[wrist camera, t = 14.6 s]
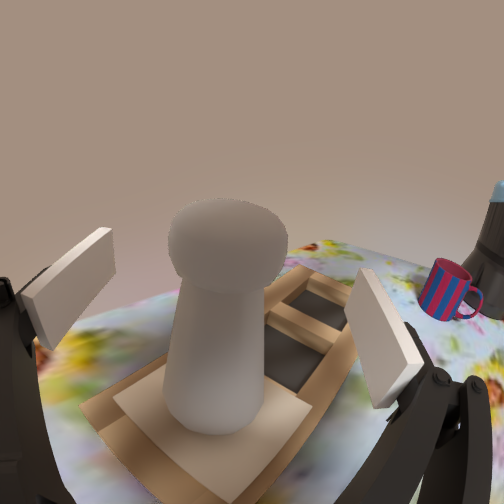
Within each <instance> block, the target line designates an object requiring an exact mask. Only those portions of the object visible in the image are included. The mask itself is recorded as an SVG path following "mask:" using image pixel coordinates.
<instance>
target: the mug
mask: <svg viewBox="0 0 504 504" xmlns="http://www.w3.org/2000/svg"><path fill="white" fill-rule="evenodd" d="M471 282H472V276H471V275H470V273H469V272H468V271H467V270H465V269H464V268H463V267H461V266H460V265H458V264H456V263H454V262H452V261H450V260H447V259H443V258H437V259H436V260H435V262H434V265H433V267H432V270H431V272H430V274H429V277H428V279H427V281H426V283H425V285H424V288H423V290H422V292H421V294H420V296H419V298H418V303H419V305H420V307H421V308H422V309H423V310H424V311H425V312H426V313H427V314H428V315H430V316H431V317H433V318H435V319H437V320H440V321H450V320H452V318H453V317H454V316H455V317H457V318H460V319H470V318H472V317H474V316H475V315H476V314H477V313H478V312H479V310H480V309H481V307H482V304H483V294H482V292H481V291H480V290H479V289H478V288H476V287H473V286H470V284H471ZM467 291H475V292H477V293H478V294H479V297H480V303H479V306H478V308H477V310H476V311H475V312H474V313H473V314H471V315H463V314H460V313H459V312H458V311H457V310H458V308H459V306H460V304H461V302H462V300H463V299H464V297H465V295H466V293H467Z"/></svg>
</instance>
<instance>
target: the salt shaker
mask: <svg viewBox="0 0 504 504" xmlns="http://www.w3.org/2000/svg"><path fill="white" fill-rule="evenodd" d="M287 243H288V234H287V232H286V229H285V226H284V225H283V223H282V222H281V220H280V219H279V218H278V216H276V215H275V214H274V213H272V212H271V211H269V210H268V209H266V208H263V207H260V206H258V205H255V204H252V203H249V202H246V201H240V200H234V199H221V198H218V199H208V200H200V201H196V202H193V203H190V204H188V205H186V206H185V207H184V208H182V209H181V210H180V211H179V212H178V213H177V215H176V216H175V217H174V218H173V220H172V222H171V226H170V231H169V236H168V246H169V256H170V258H171V261H172V263H173V265H174V268H175V270H176V272H177V274H178V275H179V276H180V277H182V278H183V279H182V283H181V288H180V293H179V298H178V302H177V307H176V312H175V318H174V323H173V328H172V334H171V339H170V345H169V351H168V357H167V363H166V369H165V375H164V382H163V389H162V393H163V396H164V398H165V401H166V404H167V407H168V409H169V411H170V413H171V414H172V415H173V416H174V417H175V418H176V419H177V420H178V421H179V422H180V423H181V424H182V425H183V426H184V427H185V428H187V429H189V430H191V431H193V432H198V433H202V434H206V435H230V434H234V433H235V432H237V431H239V430H240V429H242V428H243V427H245V426H247V425H248V424H250V423H251V422H252V421H253V420H254V418H255V417H256V415H257V413H258V412H259V410H260V408H261V407H262V405H263V403H264V287H267V286H269V285H270V284H271V283H272V282H273V280H274V279H275V278H276V277H277V275H278V274H279V273H280V271H281V270H282V268H283V265H284V262H285V259H286V255H287Z"/></svg>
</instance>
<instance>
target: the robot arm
mask: <svg viewBox="0 0 504 504" xmlns="http://www.w3.org/2000/svg"><path fill="white" fill-rule="evenodd" d="M489 202H490V205H489V208H488V212H487V215H486V218H485V221H484V224H483V227H482V230H481V232H480V235H479V238H478V241H477V243H476V246H475V248H474V250H473V252H472V253H471V254H470V255H469V257H468V258H467V259H466V260H465V261H464V263H463V264H462V265H461V267H463V268H464V269H465V270H467V271H468V272H469V273H470V275H471V276H472V282H471V284H470V286H473V287H476V288H478V289H479V290H480V291H481V292H482V294H483V304H482V307H481V309H480V310H479V312H481V313H482V314H484V315H486V316H488V317H491V318H494V319H498V320H503V319H504V181H503V180H501V181H499V182H497V184H496V185H495V187H494V191H493V194H492V197H491V199H490V200H489ZM115 274H116V269H115V259H114V249H113V236H112V229H110V228H103V227H100V228H99V229H97V230H96V231H95V232H93V233H92V234H91V235H90V236H88V237H87V238H86V239H84V240H83V241H82V242H80V243H79V244H78V245H76V246H75V247H74V248H72V249H71V250H70V251H69V252H67V253H66V254H65V255H64V256H63V257H61V258H60V259H59V260H58V261H57V262H55V263H54V264H53V265H51V266H49V267H47V268H45V269H43V270H42V271H41V272H40V273H39V274H38V275H37V276H35V277H34V278H33V279H32V281H29V282H28V283H27V284H26V285H25V286H24V287H23V288H22V289H21V290H20V291H19V292H17V293H16V294H15V295H14V292H13V289H12V286H11V283H10V280H9V279H8V278H6V277H0V504H76V502H75V500H74V499H73V497H72V496H71V494H70V493H69V492H68V491H67V489H66V488H65V486H64V484H63V482H62V479H61V477H60V474H59V471H58V468H57V465H56V462H55V458H54V455H53V452H52V448H51V445H50V441H49V437H48V433H47V429H46V424H45V420H44V415H43V409H42V404H41V398H40V391H39V384H38V376H37V366H36V353H35V345H34V342H33V339H34V338H35V337H36V336H37V338H38V340H39V342H40V344H41V346H43V347H45V348H47V349H49V350H52V351H54V349H55V348H56V346H57V345H58V344H59V342H60V341H61V340H62V338H63V337H64V336H65V334H66V333H67V332H68V330H69V329H70V328H71V327H72V325H73V324H74V323H75V321H76V320H77V319H78V318H79V316H80V315H81V314H82V313H83V311H84V310H85V309H86V308H87V306H88V305H89V304H90V303H91V301H92V300H93V299H94V298H95V297H96V296H97V294H98V293H99V292H100V291H101V290H102V288H103V287H104V286H105V285H106V284H107V283H108V282H109V280H110V279H111V278H112V277H113V276H114V275H115ZM464 300H465V301H466V302H467V303H468V304H469V305H471V306H472V307H473V308H475V309H476V310H477V308H478V306H479V303H480V297H479V294H478V293H477V292H475V291H467V293H466V295H465V297H464ZM344 312H345V315H346V318H347V321H348V324H349V327H350V330H351V333H352V336H353V339H354V343H355V346H356V349H357V352H358V355H359V359H360V362H361V365H362V369H363V372H364V376H365V379H366V383H367V386H368V390H369V394H370V397H371V401H372V405H373V409H381V408H389V407H390V406H391V405H392V404H393V403H394V402H395V400H396V399H397V402H398V405H399V407H398V408H397V409H396V410H395V411H394V412H393V413H392V414H391V415H390V417H389V418H388V419H387V420H386V421H387V422H388V421H389V420H390V421H389V423H388V425H387V426H386V428H385V430H384V432H383V433H382V435H381V437H380V438H379V440H378V442H377V443H376V445H375V447H374V448H373V450H372V451H371V453H370V455H369V456H368V458H367V459H366V461H365V462H364V464H363V465H362V467H361V468H360V470H359V471H358V472H357V474H356V475H355V477H354V478H353V479H352V481H351V482H350V483H349V485H348V486H347V487H346V489H345V490H344V491H343V492H342V494H341V495H340V496H339V497H338V499H337V500H336V501H335V502H334V504H409V503H410V501H411V499H412V497H413V495H414V493H415V491H416V489H417V487H418V485H419V483H420V481H421V479H422V477H423V480H422V485H421V489H420V493H419V497H418V501H417V504H489V500H490V492H491V481H492V425H491V413H490V403H489V396H488V389H487V386H486V384H485V383H484V381H483V380H482V379H481V378H479V377H477V376H474V375H471V376H469V377H468V378H467V379H466V381H465V382H464V383H459V382H455V381H452V378H451V376H450V375H449V374H448V373H447V372H446V371H445V370H444V369H442V368H439V367H434V365H433V363H432V361H431V359H430V357H429V355H428V353H427V351H426V349H425V347H424V345H422V344H423V343H422V342H421V340H420V339H419V336H418V334H417V332H416V331H415V329H414V328H413V327H412V326H411V325H410V324H409V323H408V322H403V321H402V319H401V317H400V315H399V313H398V312H397V310H396V308H395V306H394V305H393V303H392V301H391V299H390V298H389V296H388V294H387V292H386V291H385V289H384V287H383V286H382V284H381V282H380V281H379V279H378V278H377V276H376V274H375V273H374V271H373V269H367V268H359V271H358V274H357V277H356V279H355V282H354V285H353V288H352V290H351V293H350V295H349V298H348V301H347V303H346V306H345V308H344ZM459 423H460V428H459V429H458V424H459ZM423 474H424V476H423Z"/></svg>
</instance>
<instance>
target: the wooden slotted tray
mask: <svg viewBox="0 0 504 504" xmlns="http://www.w3.org/2000/svg"><path fill="white" fill-rule="evenodd" d="M351 290H352V288H351V287H349V286H347V285H345V284H343V283H340V282H338V281H336V280H334V279H331V278H329V277H327V276H325V275H322V274H320V273H318V272H316V271H314V270H311V269H309V268H307V267H305V266H302V265H300V264H299V265H297V266H296V267H294V268H293V269H292V270H290V271H289V272H287V273H286V274H285V275H283V276H282V277H280V278H279V279H277V280H276V281H275V282H273V283H272V284H270V285H269V286H267V287H266V288H264V403H263V405H262V407H261V408H260V410H259V412H258V413H257V415H256V417H255V418H254V420H253V421H252V422H251V423H250V424H248V425H247V426H245V427H243V428H242V429H240V430H239V431H237V432H235V433H234V434H230V435H206V434H202V433H198V432H193V431H191V430H189V429H187V428H185V427H184V426H183V425H182V424H181V423H180V422H179V421H178V420H177V419H176V418H175V417H174V416H173V415H172V414H171V413H170V411H169V409H168V407H167V404H166V401H165V398H164V396H163V393H162V389H163V382H164V375H165V369H166V363H167V357H168V352H167V353H166V354H164V355H162V356H161V357H159V358H157V359H156V360H154V361H153V362H151V363H149V364H148V365H146V366H144V367H143V368H141V369H140V370H138V371H136V372H135V373H133V374H131V375H130V376H128V377H126V378H125V379H123V380H121V381H119V382H118V383H116V384H114V385H113V386H111V387H109V388H108V389H106V390H104V391H102V392H101V393H99V394H97V395H95V396H94V397H92V398H90V399H88V400H87V401H85V402H83V403H81V404H80V405H78V406H79V408H80V409H81V411H82V412H83V414H84V415H85V417H86V418H87V420H88V421H89V423H90V424H91V425H92V427H93V428H94V429H95V431H96V432H97V433H98V435H99V436H100V437H101V439H102V440H103V441H104V442H105V444H106V445H107V446H108V447H109V448H110V450H111V451H112V452H113V453H114V454H115V456H116V457H117V458H118V459H119V460H120V461H121V462H122V463H123V465H124V466H125V467H126V468H127V469H128V470H129V471H130V472H131V473H132V474H133V475H134V476H135V477H136V478H137V479H138V480H139V481H140V482H141V483H142V484H143V485H144V486H145V487H146V488H147V489H148V490H149V491H150V492H151V493H152V494H153V495H154V496H155V497H157V498H158V499H159V500H160V501H161V502H162V503H163V504H255V503H256V502H257V501H258V500H259V499H260V498H261V496H262V495H263V494H264V493H265V492H266V491H267V490H268V489H269V487H270V486H271V485H272V484H273V483H274V482H275V480H276V479H277V478H278V477H279V475H280V474H281V473H282V472H283V471H284V469H285V468H286V467H287V466H288V464H289V463H290V462H291V460H292V459H293V458H294V456H295V455H296V454H297V452H298V451H299V450H300V448H301V447H302V446H303V444H304V443H305V441H306V440H307V439H308V437H309V436H310V434H311V433H312V431H313V430H314V428H315V427H316V425H317V424H318V422H319V421H320V419H321V418H322V416H323V415H324V413H325V412H326V410H327V408H328V407H329V405H330V404H331V402H332V400H333V399H334V397H335V395H336V394H337V392H338V390H339V389H340V387H341V385H342V383H343V382H344V380H345V378H346V376H347V375H348V373H349V371H350V369H351V367H352V365H353V363H354V362H355V360H356V358H357V356H358V352H357V349H356V346H355V343H354V339H353V336H352V333H351V330H350V327H349V324H348V321H347V318H346V315H345V312H344V308H345V306H346V303H347V301H348V298H349V295H350V293H351Z"/></svg>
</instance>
